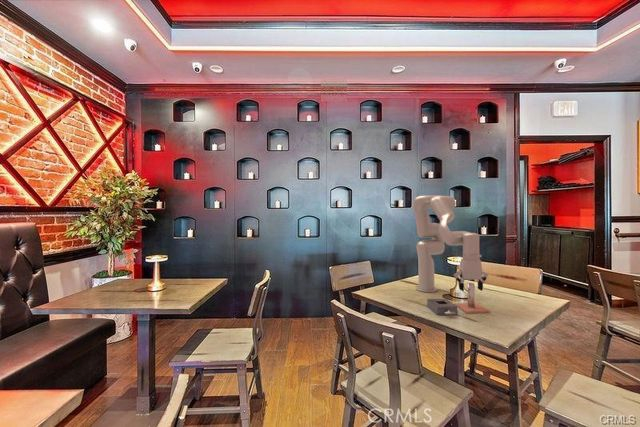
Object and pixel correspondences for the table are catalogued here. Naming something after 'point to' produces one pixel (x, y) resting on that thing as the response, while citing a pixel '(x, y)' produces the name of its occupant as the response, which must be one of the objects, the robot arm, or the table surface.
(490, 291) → the table surface
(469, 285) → the steel peg
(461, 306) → the terracotta mat
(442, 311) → the vise block
